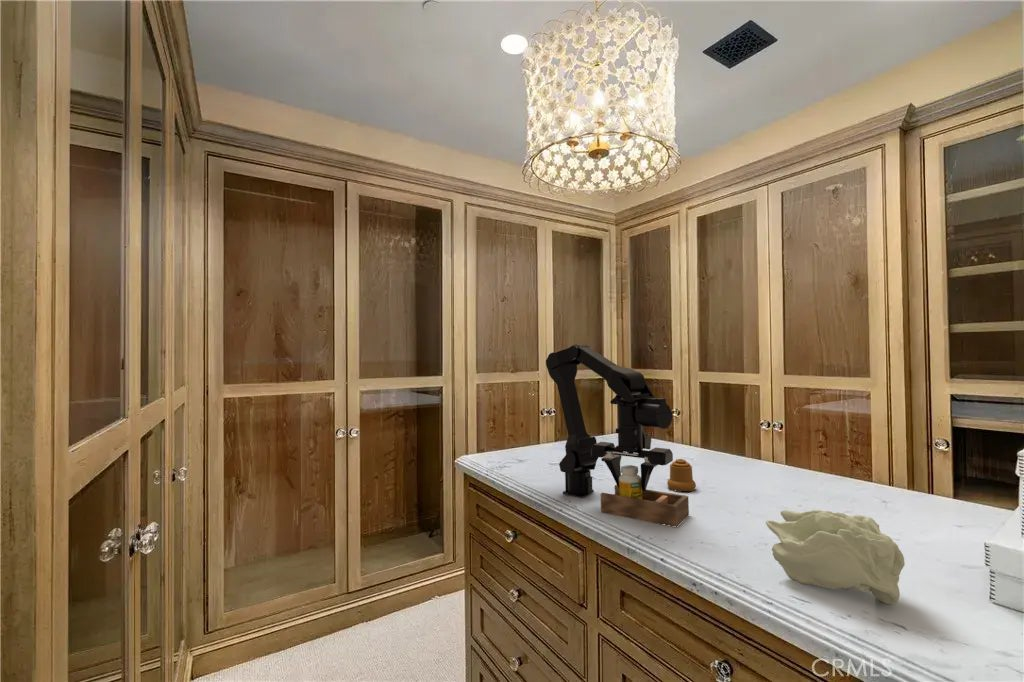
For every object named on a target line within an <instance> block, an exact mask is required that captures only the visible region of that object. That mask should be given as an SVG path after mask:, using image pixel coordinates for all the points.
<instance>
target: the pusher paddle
mask: <svg viewBox="0 0 1024 682" xmlns="http://www.w3.org/2000/svg"><path fill="white" fill-rule="evenodd" d="M655 502H660V503H666V504H668V496H664V495H662V496H661V497H660V498H658V499H657V500H656V501H655Z"/></svg>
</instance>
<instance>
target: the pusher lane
mask: <svg viewBox="0 0 1024 682" xmlns="http://www.w3.org/2000/svg"><path fill="white" fill-rule="evenodd" d="M662 495H664V496H668V504H666V503H660V502H655V501H656V500H657V499H658V498H660V497H661V496H662ZM689 505H690V504H689V496H688V495H685V494H679V493H672V492H666V491H660V490H659V491H658V490H653V489H647V488H646V490H645V491H642V499H637V498H631V497H626V496H620V491H619V487H618V486H617V484H615V485H614V493H607V492H601V493H600V512H601V513H603V514H607V515H612V516H617V517H622V518H627V519H633V520H638V521H642V522H648V523H652V524H653V523H654V524H657V523H659V524H658V525H662V524H665V525H664V526H667V525H670V526H669V527H672V526H676V527H675V528H678V527H677V526H678V525H679V524H680V523H681V522H682V521H683V520H684V519H685V518H686V517H687V516H688V515H689V516H690V510H689V509H690V506H689ZM689 516H688V517H689ZM688 517H687V518H688ZM687 518H686V519H687ZM686 519H685V520H686ZM685 520H684V521H685ZM684 521H683V522H684ZM683 522H682V523H683ZM682 523H681V524H682ZM681 524H680V525H681ZM680 525H679V526H680Z"/></svg>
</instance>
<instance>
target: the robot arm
mask: <svg viewBox="0 0 1024 682" xmlns="http://www.w3.org/2000/svg"><path fill="white" fill-rule="evenodd" d="M579 365H584V366H585V367H586V368H588V369H589V370H591V371H592V372H593V373H595V374H597V375H598V376H600V377H601V378H602V379H603V380H604V381H606V385H607V387H608V388H609V389H610V390H611V391H612V393H614V394H615V396H614V398H612V399H611V400H610V401H609V403H610V404H611V405H616V406H617V407H616V408H617V409H616V411H617V428H615V434H617V441H618V442H617V445H615V443H614V442H607V441H600V442H597V438H596V436H591V435H590V434H589V433H588V432H587V429H586V425H585V421H584V417H583V411H582V408H581V403H580V399H579V395H578V391H577V386H576V382H575V381H576V377H577V374H578V366H579ZM545 366H546V369H547V373H548V375H549V377H550V378H551V380H552V381H554V383H555V385H556V386H557V390H558V394H559V399H560V400H559V401H560V404H561V407H562V414H563V417H564V422H565V426H566V431H567V439H566V442H565V455H564V456H563V458H561V461H560V462H559V464H558V465H559V471H560V472H562V473H564V477H565V478H564V480H565V481H564V482H565V483H564V484H565V490H563V491H562V494H563V495H567V496H573V497H578V498H585V497H587V496H589V495H591V494H592V493H594V492H595V490H594V489H593V477H592V476H591V473H592V472H591V471H592V470H593V471H594V470H595V468H596V464H597V461H598V459H599V458H601V460H600V461H602V462H604V464H606V466H607V468H608V469H609V472H610V474H611V475H612V477H613V479H614V482H615V485H617V486H618V487H619V477H620V476H621V475H622V473H621V460H622V457H629V458H630V457H631V458H636V459H637V458H638V459H643V461H644V462H642V463H640V477H641V486H642V491H645V490H646V489H647V488H648V483H649V480H650V478H651V475H652V472H653V470H654V468H655V467H657V466H667V465H668V464H671V463H672V462H674V459H673V458H674V457H673V456H674V455H673V454H674V453H673V452H672V450H671V449H670V448H663V447H654V448H651V446H652V435H651V436H650V435H649V434H647V433H645V427H650V428H656V429H661V430H662V429H663V430H665V429H667V428H670V425H671V424H672V421H673V411H672V409H671V407H670V405H669V404H668V403H667V399H666V398H665V397H662V398H661V397H658V398H656V397H655V395H654V394H653V392H652V390H651V389H650V387H649V385H648V384H647V382H646V380H645V375H644V374H642V373H641V372H640V371H637V370H636V369H635V370H634V369H631V368H629V367H625V366H620V365H618V364H616V363H614V361H611V360H610V359H609V358H606V357H605V356H603V355H601V354H600V353H598V352H597V351H595V350H594V349H592V348H591V347H590V345H588V344H573V345H571V346H570V347H567V348H565V349H562V350H559V351H556V352H555V351H554V352H551V353H549V354H548V355H547V358H546V359H545Z"/></svg>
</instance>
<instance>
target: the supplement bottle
mask: <svg viewBox="0 0 1024 682" xmlns="http://www.w3.org/2000/svg"><path fill="white" fill-rule="evenodd" d="M638 467H639V466H636V465H629V464H627V465H622V466H620V469H621V476H620V477H619V491H620V496H626V497H631V498H637V499H642V486H641V475H639V468H638Z"/></svg>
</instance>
